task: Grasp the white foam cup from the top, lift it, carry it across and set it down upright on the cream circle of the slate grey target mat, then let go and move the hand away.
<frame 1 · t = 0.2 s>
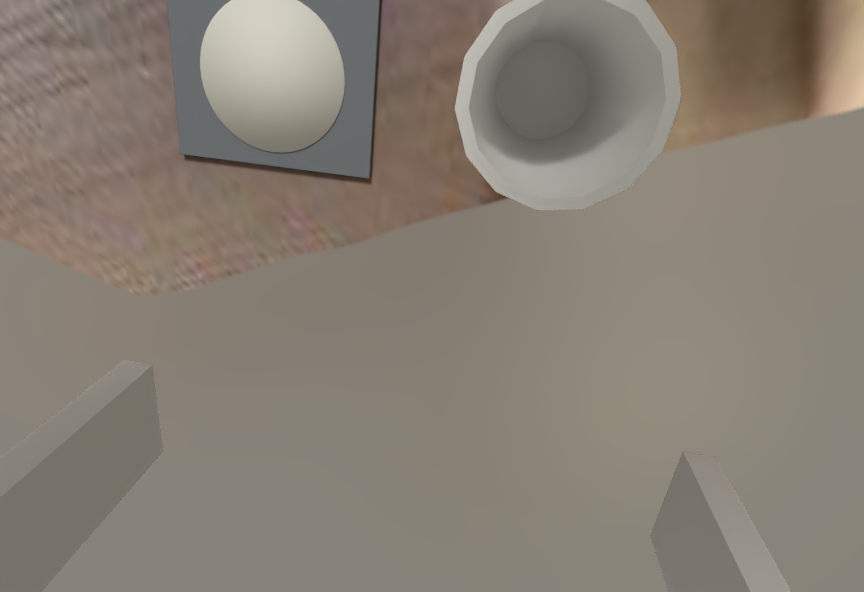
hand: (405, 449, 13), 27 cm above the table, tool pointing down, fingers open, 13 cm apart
target mat: (274, 76, 36), on the table
foam cup: (541, 91, 35), on the table
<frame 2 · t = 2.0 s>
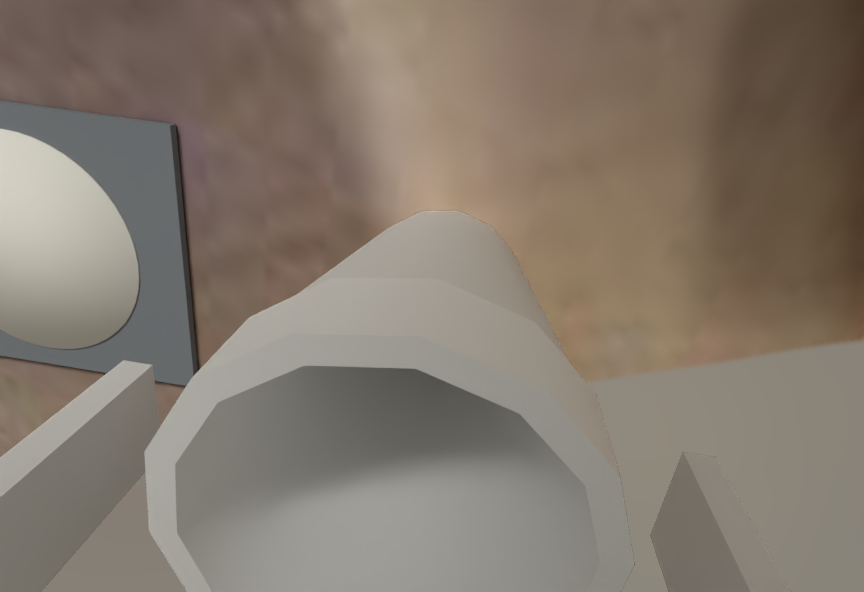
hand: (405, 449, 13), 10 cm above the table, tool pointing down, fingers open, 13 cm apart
target mat: (35, 244, 23), on the table
foam cup: (442, 281, 22), on the table
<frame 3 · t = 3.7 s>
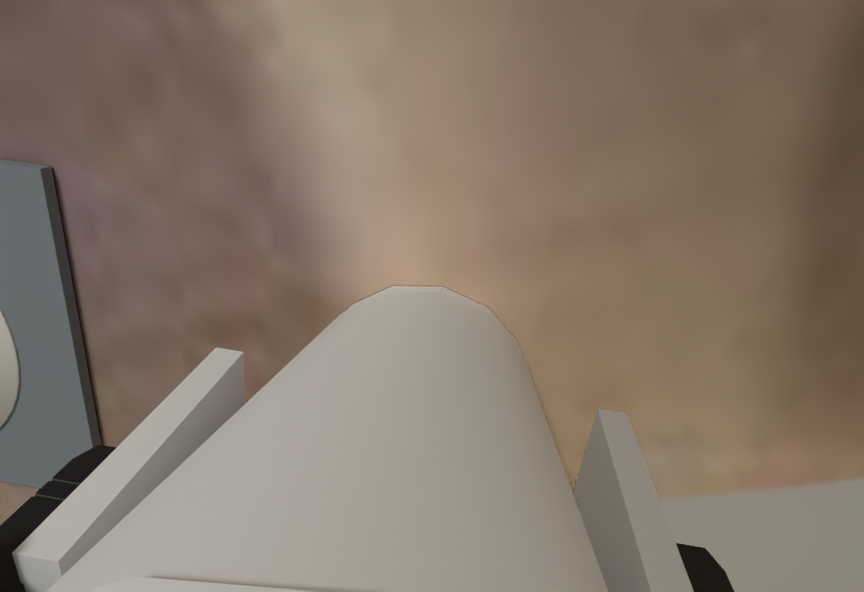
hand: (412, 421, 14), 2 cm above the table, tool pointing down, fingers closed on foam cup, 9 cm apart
foam cup: (422, 376, 16), on the table, touching gripper
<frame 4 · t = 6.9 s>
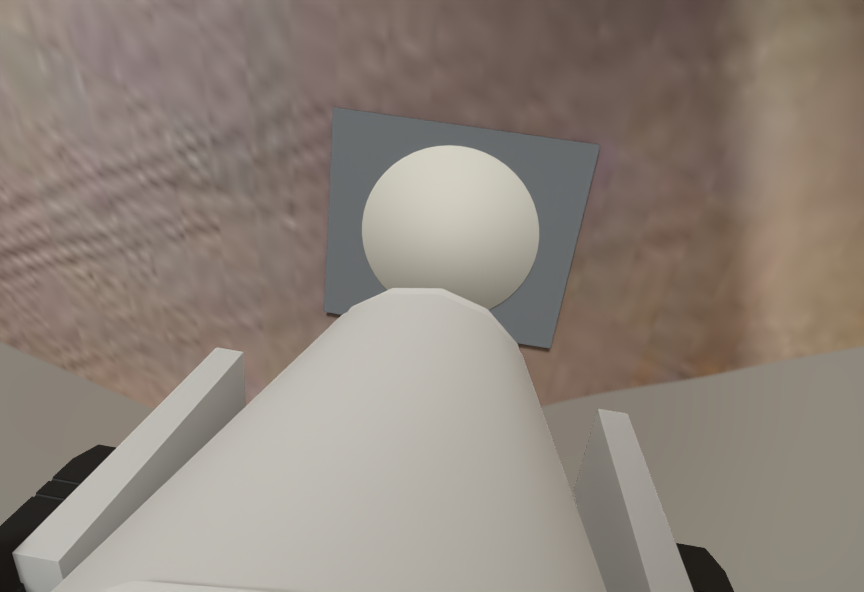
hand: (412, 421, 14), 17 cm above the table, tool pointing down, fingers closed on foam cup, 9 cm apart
target mat: (449, 234, 30), on the table
foam cup: (422, 378, 16), point 15 cm above the table, touching gripper
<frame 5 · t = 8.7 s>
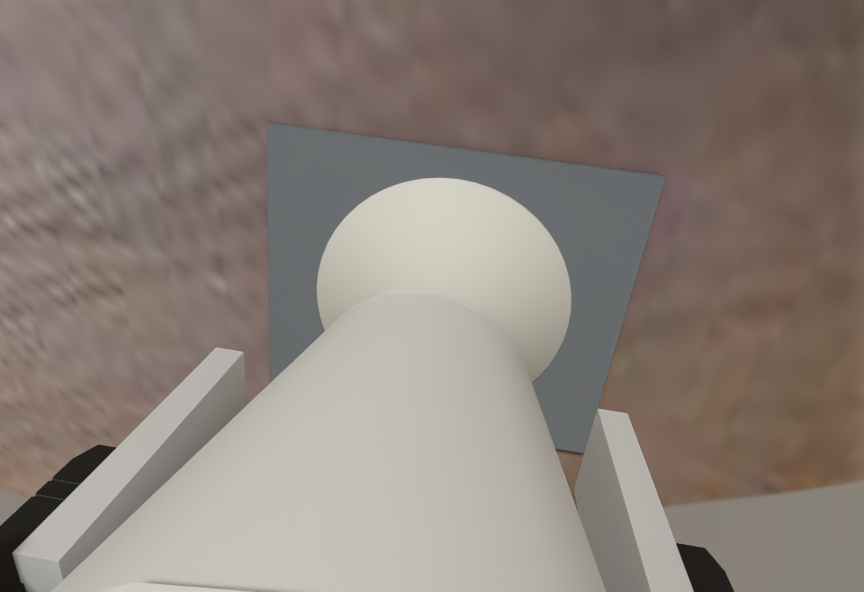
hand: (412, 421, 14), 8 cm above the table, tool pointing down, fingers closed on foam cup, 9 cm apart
target mat: (442, 300, 21), on the table
foam cup: (422, 378, 16), point 5 cm above the table, touching gripper
when the fingers open (4 cm above the table, at t = 10.4 s): foam cup drops 1 cm, resting on target mat.
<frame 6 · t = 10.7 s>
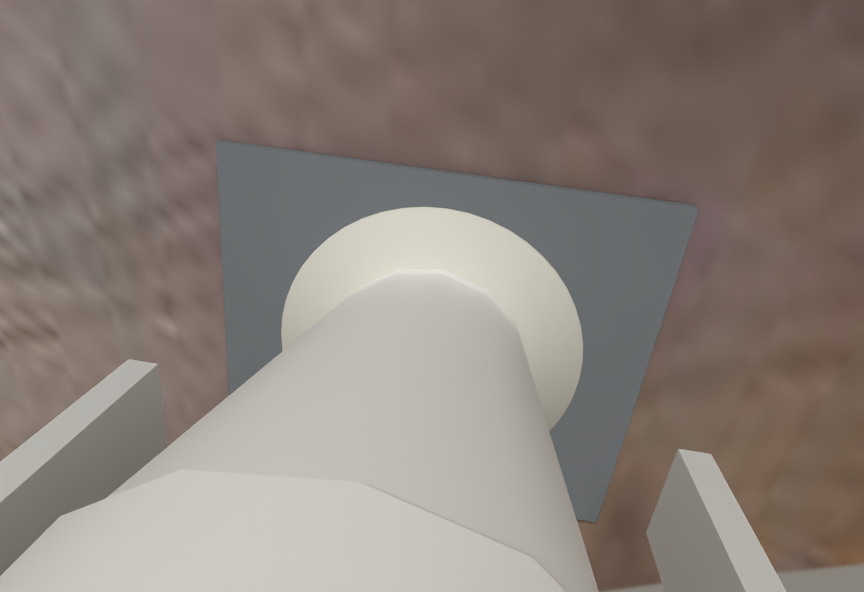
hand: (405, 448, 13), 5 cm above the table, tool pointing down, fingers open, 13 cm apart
target mat: (429, 348, 18), on the table
foam cup: (427, 354, 18), resting on target mat
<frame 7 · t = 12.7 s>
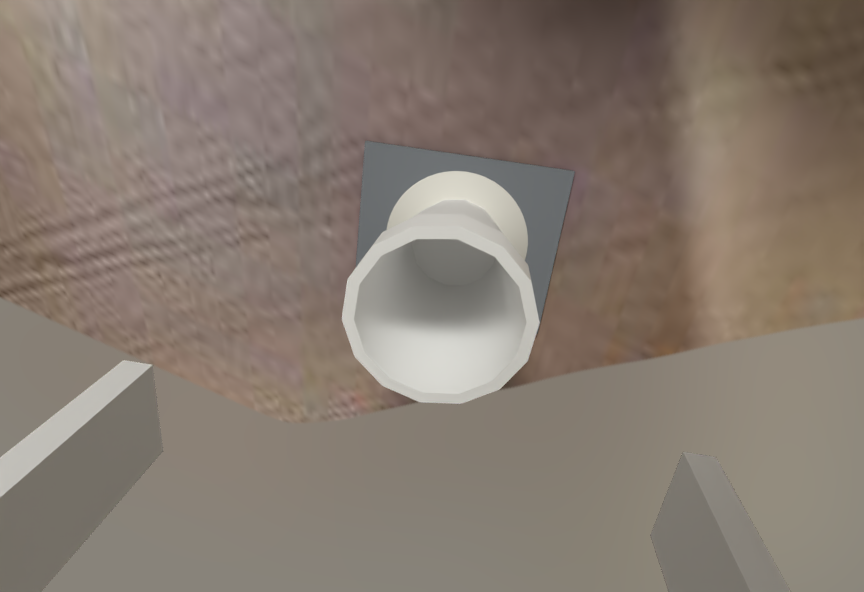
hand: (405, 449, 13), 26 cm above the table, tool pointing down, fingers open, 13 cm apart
target mat: (456, 241, 38), on the table
foam cup: (455, 242, 37), resting on target mat
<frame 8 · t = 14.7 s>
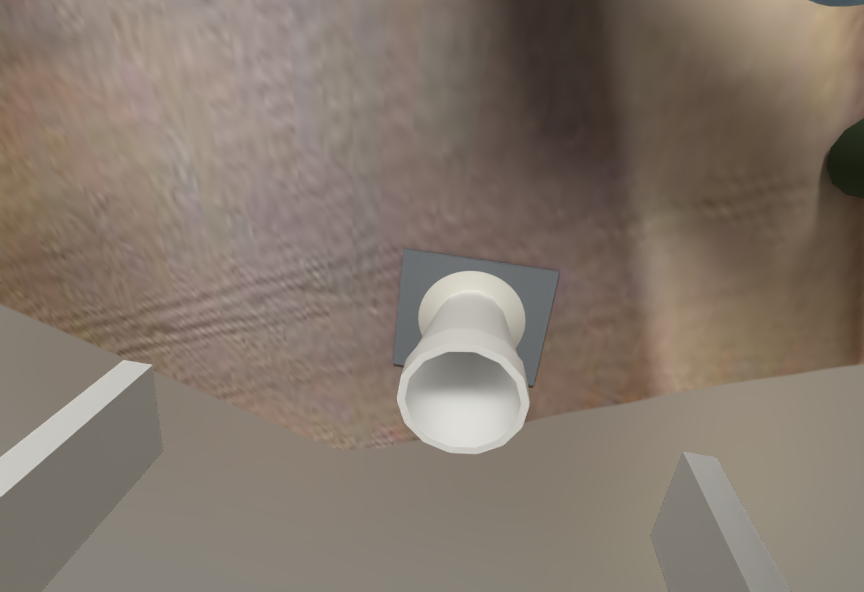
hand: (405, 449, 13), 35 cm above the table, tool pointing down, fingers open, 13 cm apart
target mat: (471, 318, 50), on the table
foam cup: (470, 320, 50), resting on target mat
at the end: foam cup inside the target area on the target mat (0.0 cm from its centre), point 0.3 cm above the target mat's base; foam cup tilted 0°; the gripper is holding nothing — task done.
